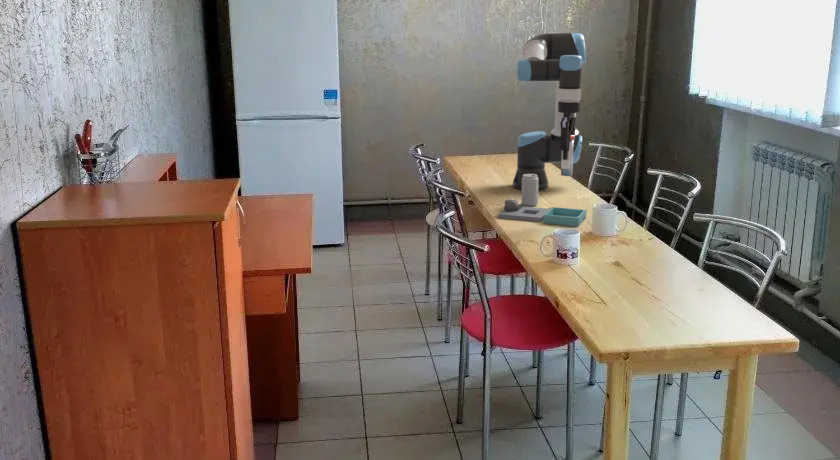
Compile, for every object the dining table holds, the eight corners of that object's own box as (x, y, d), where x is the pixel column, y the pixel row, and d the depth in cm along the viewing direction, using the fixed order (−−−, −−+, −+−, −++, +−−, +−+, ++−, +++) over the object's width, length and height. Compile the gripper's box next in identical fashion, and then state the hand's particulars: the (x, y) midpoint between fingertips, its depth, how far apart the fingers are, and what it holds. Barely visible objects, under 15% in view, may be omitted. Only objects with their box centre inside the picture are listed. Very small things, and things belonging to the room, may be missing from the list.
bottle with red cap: (561, 173, 283) (563, 133, 279) (574, 174, 281) (576, 134, 277) (558, 175, 279) (559, 135, 275) (571, 176, 277) (572, 136, 273)
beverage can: (537, 207, 304) (538, 176, 301) (520, 206, 305) (521, 176, 302) (538, 203, 310) (539, 173, 307) (521, 202, 311) (522, 173, 308)
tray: (552, 214, 293) (552, 206, 292) (586, 217, 288) (586, 209, 287) (543, 223, 282) (543, 214, 281) (578, 226, 277) (578, 218, 276)
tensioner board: (509, 209, 302) (510, 194, 300) (551, 212, 296) (551, 197, 294) (498, 217, 290) (498, 202, 288) (541, 221, 283) (541, 206, 282)
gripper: (564, 98, 282) (562, 162, 288) (552, 103, 267) (550, 171, 273) (585, 98, 279) (582, 163, 285) (574, 103, 264) (571, 172, 270)
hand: (566, 167), depth 279 cm, fingers closed on bottle with red cap, 4 cm apart
